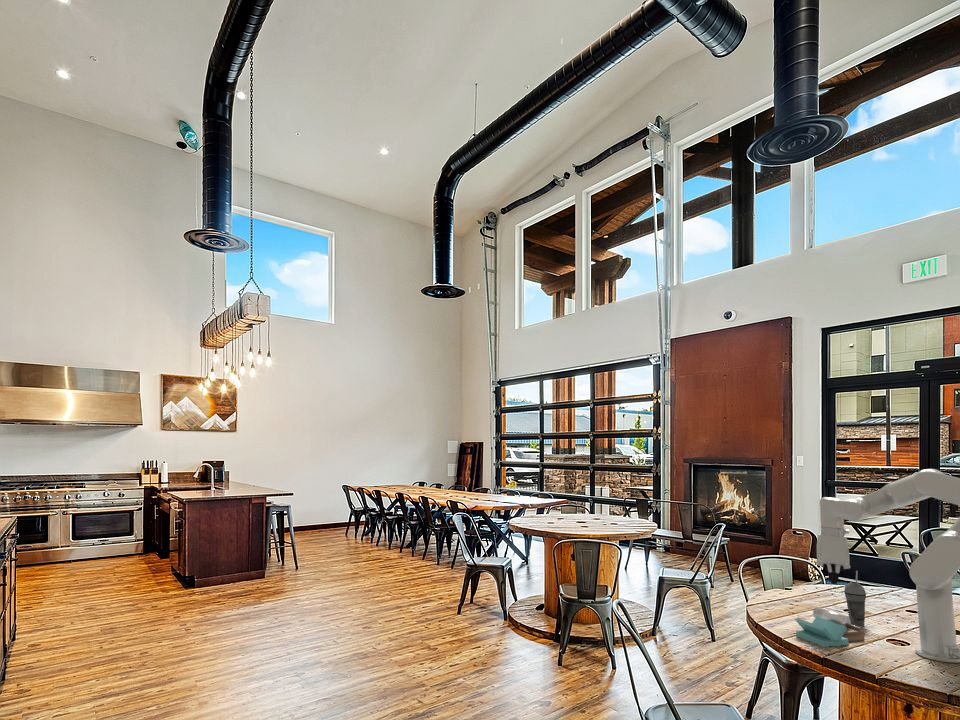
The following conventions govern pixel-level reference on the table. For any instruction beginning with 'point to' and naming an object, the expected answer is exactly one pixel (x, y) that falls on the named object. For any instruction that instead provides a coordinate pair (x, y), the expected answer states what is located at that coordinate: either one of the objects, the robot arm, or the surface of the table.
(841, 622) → the axle
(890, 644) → the table surface
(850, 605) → the beverage cup
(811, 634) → the v block
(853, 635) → the tan stepped block
